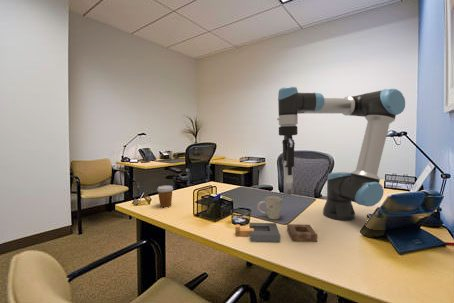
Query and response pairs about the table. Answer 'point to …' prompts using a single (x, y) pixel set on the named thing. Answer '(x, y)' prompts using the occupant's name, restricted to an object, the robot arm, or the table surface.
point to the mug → (272, 207)
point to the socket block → (264, 232)
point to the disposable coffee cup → (165, 195)
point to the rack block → (301, 233)
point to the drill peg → (287, 186)
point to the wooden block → (242, 231)
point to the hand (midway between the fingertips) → (288, 181)
